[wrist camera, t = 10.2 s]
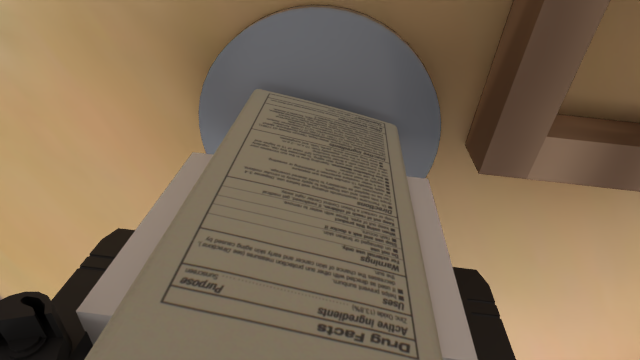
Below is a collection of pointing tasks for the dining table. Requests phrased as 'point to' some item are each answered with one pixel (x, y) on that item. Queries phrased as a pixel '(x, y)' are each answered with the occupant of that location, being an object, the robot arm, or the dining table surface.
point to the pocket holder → (549, 104)
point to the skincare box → (286, 250)
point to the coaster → (326, 76)
